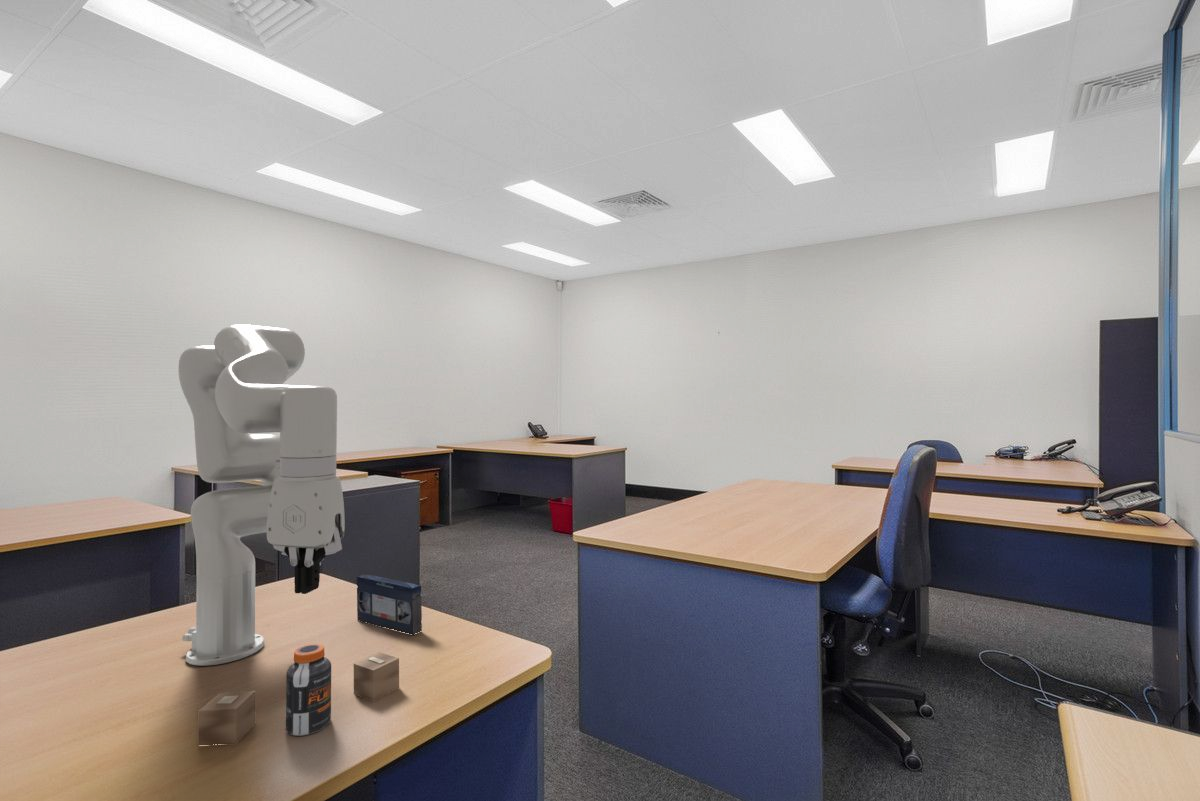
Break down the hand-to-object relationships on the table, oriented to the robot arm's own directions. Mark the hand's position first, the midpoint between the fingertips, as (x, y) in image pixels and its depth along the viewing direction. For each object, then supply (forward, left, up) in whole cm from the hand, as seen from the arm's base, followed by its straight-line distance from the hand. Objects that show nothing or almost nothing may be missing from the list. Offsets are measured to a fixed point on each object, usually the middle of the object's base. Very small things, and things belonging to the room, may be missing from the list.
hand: (306, 590), depth 82 cm
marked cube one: (-9, -4, -20) cm, 22 cm away
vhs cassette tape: (-9, +37, -20) cm, 43 cm away
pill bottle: (+1, 0, -20) cm, 20 cm away
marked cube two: (+5, +11, -20) cm, 23 cm away
